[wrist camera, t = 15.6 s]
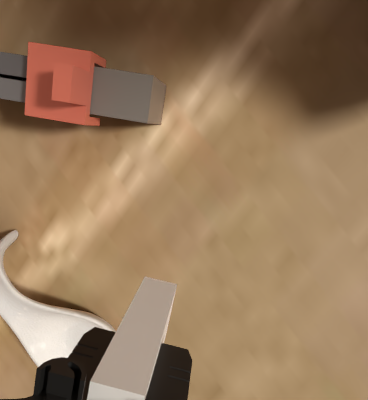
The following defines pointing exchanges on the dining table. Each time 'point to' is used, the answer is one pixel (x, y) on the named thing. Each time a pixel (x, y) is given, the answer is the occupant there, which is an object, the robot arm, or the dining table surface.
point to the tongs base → (108, 91)
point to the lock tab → (60, 83)
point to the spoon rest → (42, 319)
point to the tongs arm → (12, 89)
